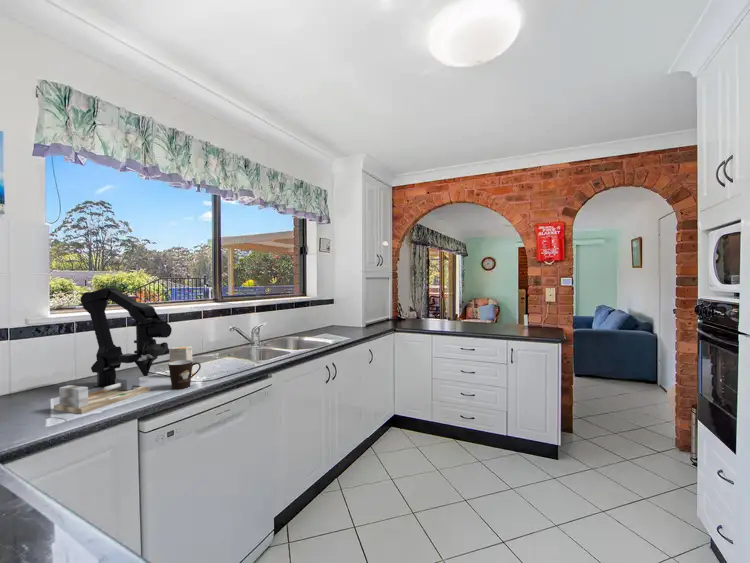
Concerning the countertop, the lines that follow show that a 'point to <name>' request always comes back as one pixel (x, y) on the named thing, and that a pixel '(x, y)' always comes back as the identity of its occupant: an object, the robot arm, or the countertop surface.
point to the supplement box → (181, 354)
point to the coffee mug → (181, 373)
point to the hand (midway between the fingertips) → (145, 375)
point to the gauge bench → (92, 398)
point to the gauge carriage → (124, 383)
